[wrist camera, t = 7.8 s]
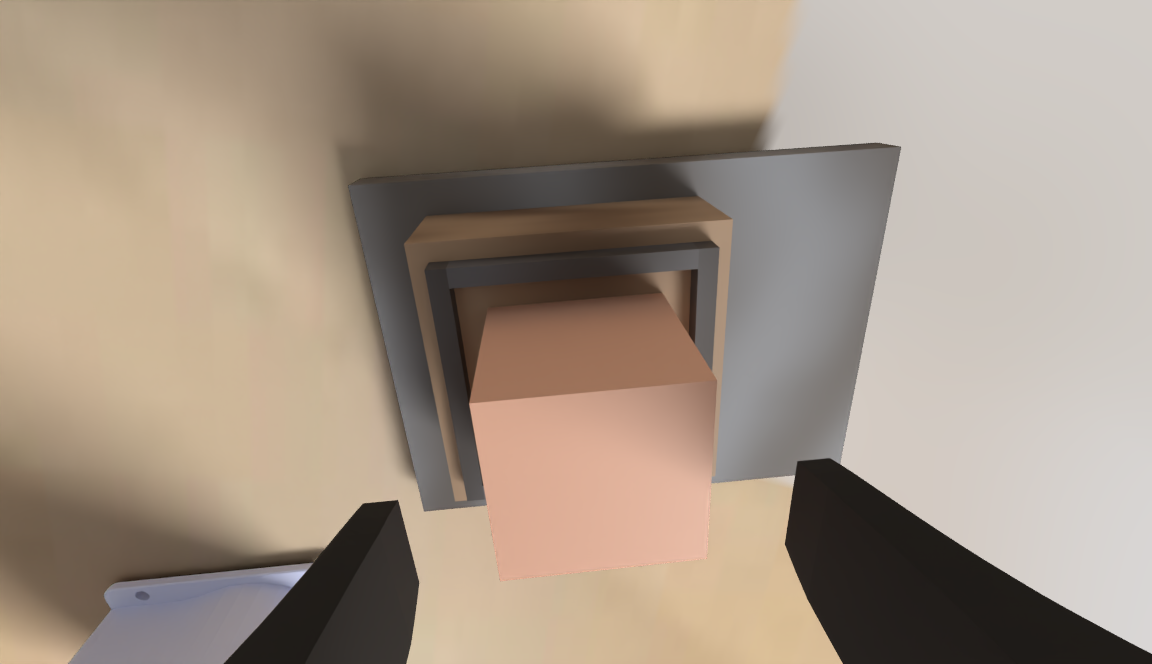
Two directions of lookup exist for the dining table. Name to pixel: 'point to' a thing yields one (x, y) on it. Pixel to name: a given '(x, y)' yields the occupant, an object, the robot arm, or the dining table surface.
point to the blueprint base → (765, 293)
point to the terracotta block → (593, 436)
